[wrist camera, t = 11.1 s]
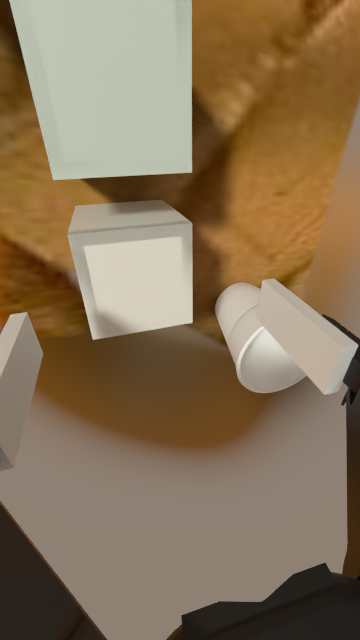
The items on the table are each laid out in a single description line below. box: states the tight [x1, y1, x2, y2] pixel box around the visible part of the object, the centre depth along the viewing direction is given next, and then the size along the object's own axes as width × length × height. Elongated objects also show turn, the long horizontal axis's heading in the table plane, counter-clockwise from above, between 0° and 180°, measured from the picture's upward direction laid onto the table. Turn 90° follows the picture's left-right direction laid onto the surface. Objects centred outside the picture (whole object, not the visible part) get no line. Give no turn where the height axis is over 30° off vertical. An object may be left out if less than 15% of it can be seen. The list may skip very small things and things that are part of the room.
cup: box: [215, 282, 307, 393], centre depth 31 cm, size 10×10×11 cm
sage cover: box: [9, 0, 192, 180], centre depth 18 cm, size 8×8×10 cm
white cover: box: [67, 199, 193, 340], centre depth 24 cm, size 8×8×10 cm
